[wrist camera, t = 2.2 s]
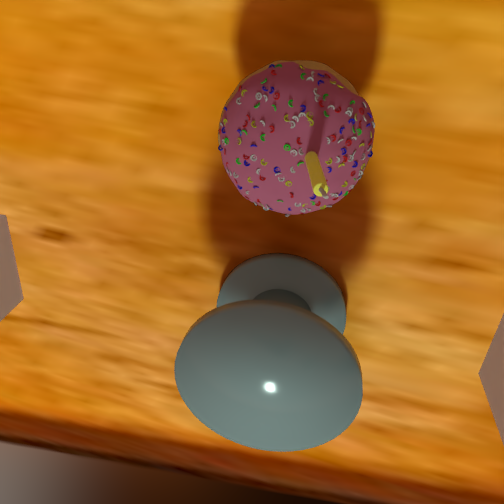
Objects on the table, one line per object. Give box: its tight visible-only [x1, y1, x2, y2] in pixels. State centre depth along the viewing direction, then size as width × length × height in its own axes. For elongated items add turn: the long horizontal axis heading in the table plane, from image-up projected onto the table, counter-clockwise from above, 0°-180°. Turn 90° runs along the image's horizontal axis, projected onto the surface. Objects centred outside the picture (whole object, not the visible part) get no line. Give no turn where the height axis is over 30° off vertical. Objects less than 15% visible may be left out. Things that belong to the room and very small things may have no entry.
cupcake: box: [218, 60, 375, 217], centre depth 25 cm, size 9×8×12 cm
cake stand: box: [174, 253, 363, 452], centre depth 34 cm, size 12×12×8 cm
